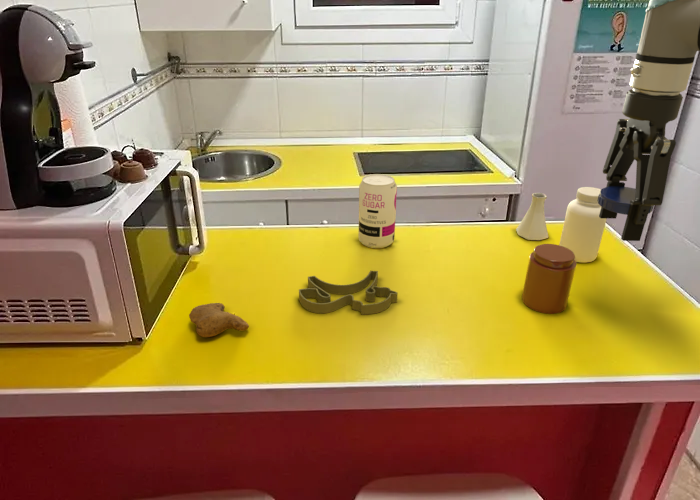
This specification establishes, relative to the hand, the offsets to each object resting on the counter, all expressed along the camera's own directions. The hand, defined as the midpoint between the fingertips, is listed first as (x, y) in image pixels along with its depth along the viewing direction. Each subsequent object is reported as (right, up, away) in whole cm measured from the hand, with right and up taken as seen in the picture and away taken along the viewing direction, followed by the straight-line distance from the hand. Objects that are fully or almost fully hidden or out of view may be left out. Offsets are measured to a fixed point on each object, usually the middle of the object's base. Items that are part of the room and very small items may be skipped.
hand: (618, 228), depth 88 cm
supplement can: (-40, -2, +31) cm, 51 cm away
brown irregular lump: (-68, -17, +3) cm, 70 cm away
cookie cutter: (-46, -13, +10) cm, 49 cm away
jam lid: (0, +5, -3) cm, 6 cm away
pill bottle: (+4, -5, +26) cm, 27 cm away
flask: (-2, 0, +35) cm, 35 cm away
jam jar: (-9, -13, +9) cm, 19 cm away
